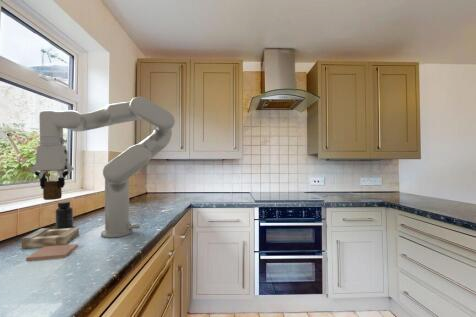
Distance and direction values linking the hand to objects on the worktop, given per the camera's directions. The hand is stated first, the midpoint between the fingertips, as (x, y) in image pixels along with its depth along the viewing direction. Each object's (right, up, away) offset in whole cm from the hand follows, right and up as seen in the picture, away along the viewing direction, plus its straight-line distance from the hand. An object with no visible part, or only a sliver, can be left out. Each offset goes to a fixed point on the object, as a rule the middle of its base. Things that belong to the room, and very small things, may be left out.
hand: (52, 187), depth 103 cm
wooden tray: (0, -21, 0) cm, 21 cm away
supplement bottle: (-9, -22, +20) cm, 31 cm away
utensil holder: (0, -5, 0) cm, 5 cm away
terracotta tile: (+11, -21, -14) cm, 27 cm away
